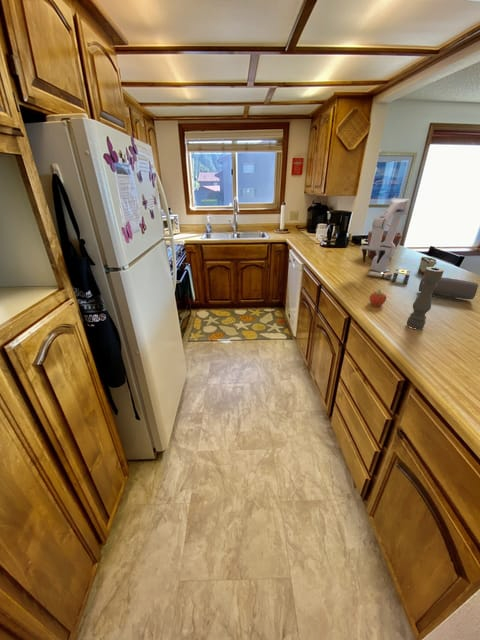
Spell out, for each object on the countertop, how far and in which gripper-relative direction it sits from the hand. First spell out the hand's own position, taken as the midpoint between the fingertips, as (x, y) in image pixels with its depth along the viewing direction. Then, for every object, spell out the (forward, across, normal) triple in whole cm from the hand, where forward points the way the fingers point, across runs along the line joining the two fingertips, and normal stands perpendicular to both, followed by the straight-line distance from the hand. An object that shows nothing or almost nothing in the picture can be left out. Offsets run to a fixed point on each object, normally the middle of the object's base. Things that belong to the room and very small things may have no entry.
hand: (370, 262), depth 160 cm
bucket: (+9, +14, +52) cm, 55 cm away
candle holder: (+11, +14, -59) cm, 62 cm away
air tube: (+10, +7, +2) cm, 12 cm away
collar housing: (+9, +18, 0) cm, 21 cm away
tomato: (+11, +1, -41) cm, 42 cm away
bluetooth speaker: (+10, +35, -20) cm, 42 cm away
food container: (+9, +36, +17) cm, 41 cm away
